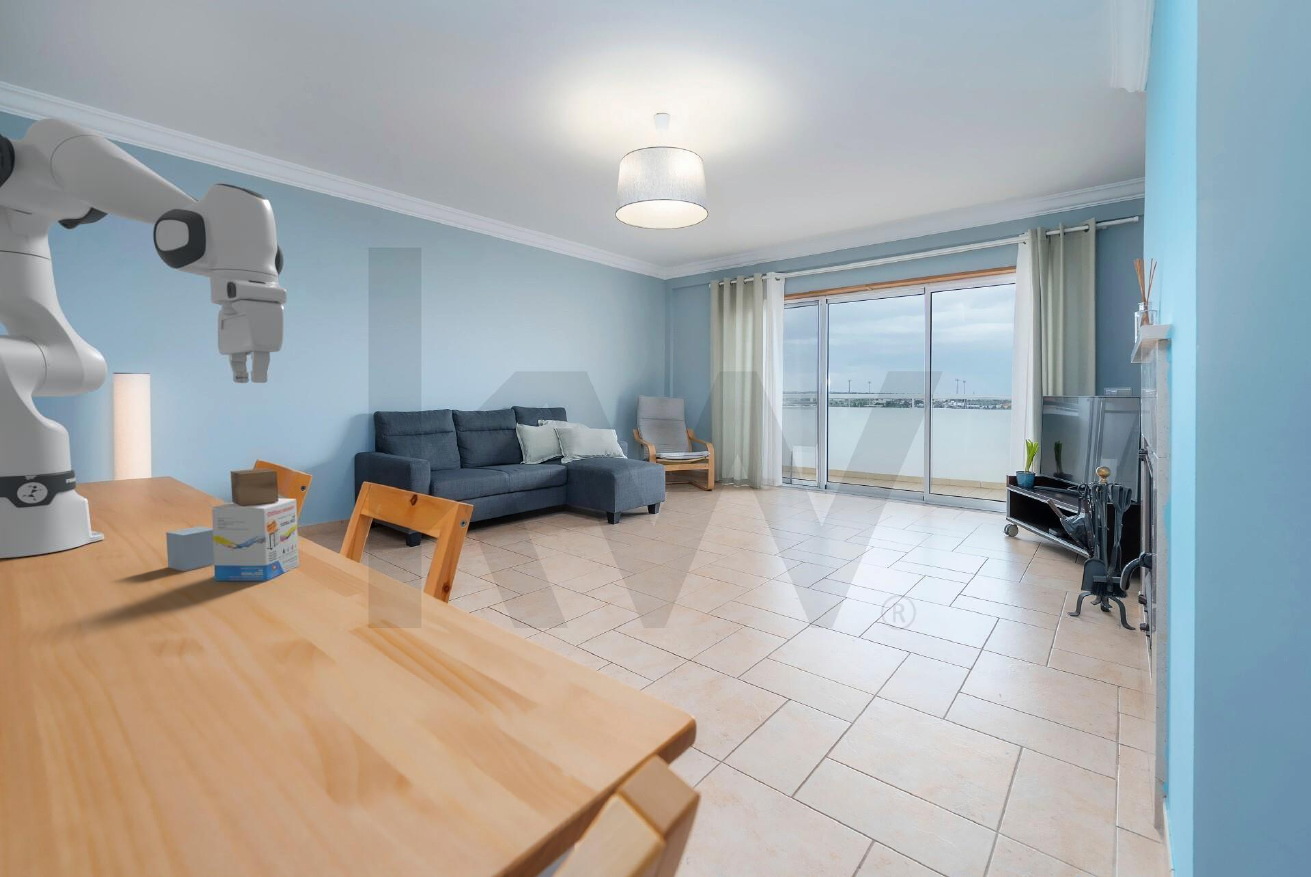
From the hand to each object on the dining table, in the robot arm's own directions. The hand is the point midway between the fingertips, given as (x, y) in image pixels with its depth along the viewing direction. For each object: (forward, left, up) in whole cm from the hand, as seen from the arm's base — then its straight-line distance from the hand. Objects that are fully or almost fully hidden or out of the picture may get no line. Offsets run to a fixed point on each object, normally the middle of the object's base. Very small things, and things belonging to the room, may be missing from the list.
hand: (249, 382), depth 94 cm
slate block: (-13, -6, -31) cm, 34 cm away
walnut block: (0, 0, -19) cm, 19 cm away
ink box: (0, 0, -31) cm, 31 cm away
